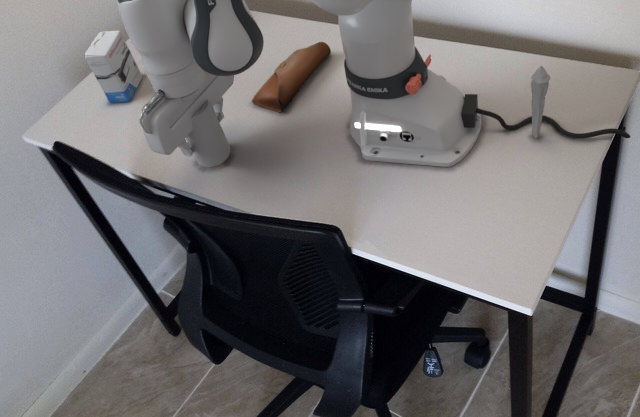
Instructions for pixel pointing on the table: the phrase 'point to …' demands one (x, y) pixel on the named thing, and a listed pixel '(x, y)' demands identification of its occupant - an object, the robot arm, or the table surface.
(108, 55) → the ink box
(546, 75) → the pen
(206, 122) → the beverage can
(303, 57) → the sunglasses case
